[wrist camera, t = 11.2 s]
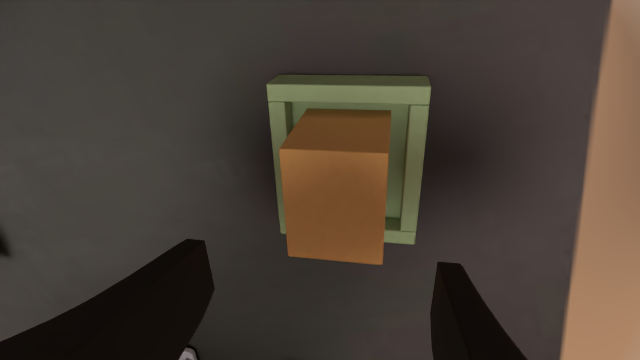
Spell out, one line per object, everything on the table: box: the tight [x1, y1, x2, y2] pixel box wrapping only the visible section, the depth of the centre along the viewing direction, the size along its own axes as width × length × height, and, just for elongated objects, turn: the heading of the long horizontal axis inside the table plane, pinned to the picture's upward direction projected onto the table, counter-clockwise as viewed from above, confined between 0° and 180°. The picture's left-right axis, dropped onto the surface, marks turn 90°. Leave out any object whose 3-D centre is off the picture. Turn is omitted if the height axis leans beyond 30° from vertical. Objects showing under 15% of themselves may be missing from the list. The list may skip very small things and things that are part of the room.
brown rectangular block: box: [279, 108, 391, 265], centre depth 17 cm, size 5×4×5 cm
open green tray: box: [266, 75, 431, 245], centre depth 19 cm, size 8×7×2 cm
